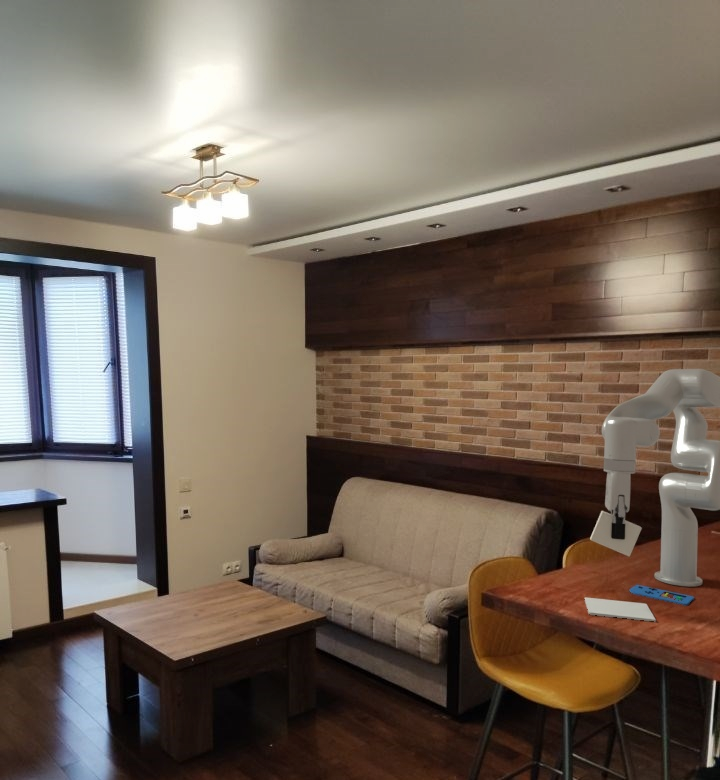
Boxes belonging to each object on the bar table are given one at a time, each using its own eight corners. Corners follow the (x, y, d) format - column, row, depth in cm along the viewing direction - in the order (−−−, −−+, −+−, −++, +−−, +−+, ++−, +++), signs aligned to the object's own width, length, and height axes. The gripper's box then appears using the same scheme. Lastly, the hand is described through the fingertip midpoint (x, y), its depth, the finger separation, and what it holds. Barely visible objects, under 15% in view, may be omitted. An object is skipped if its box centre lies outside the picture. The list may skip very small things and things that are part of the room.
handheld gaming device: (636, 583, 179) (694, 595, 169) (636, 587, 179) (694, 599, 169) (626, 589, 173) (686, 602, 163) (626, 593, 173) (686, 607, 163)
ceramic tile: (589, 538, 165) (601, 510, 164) (628, 554, 162) (640, 526, 162) (590, 540, 163) (602, 511, 162) (629, 556, 160) (641, 528, 160)
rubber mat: (584, 599, 165) (584, 597, 165) (646, 606, 162) (646, 603, 162) (589, 614, 154) (589, 612, 154) (655, 622, 150) (655, 619, 150)
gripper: (600, 462, 171) (598, 530, 171) (607, 468, 155) (605, 543, 155) (630, 464, 169) (628, 533, 169) (640, 470, 154) (638, 546, 153)
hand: (617, 537), depth 162 cm, fingers closed on ceramic tile, 1 cm apart
